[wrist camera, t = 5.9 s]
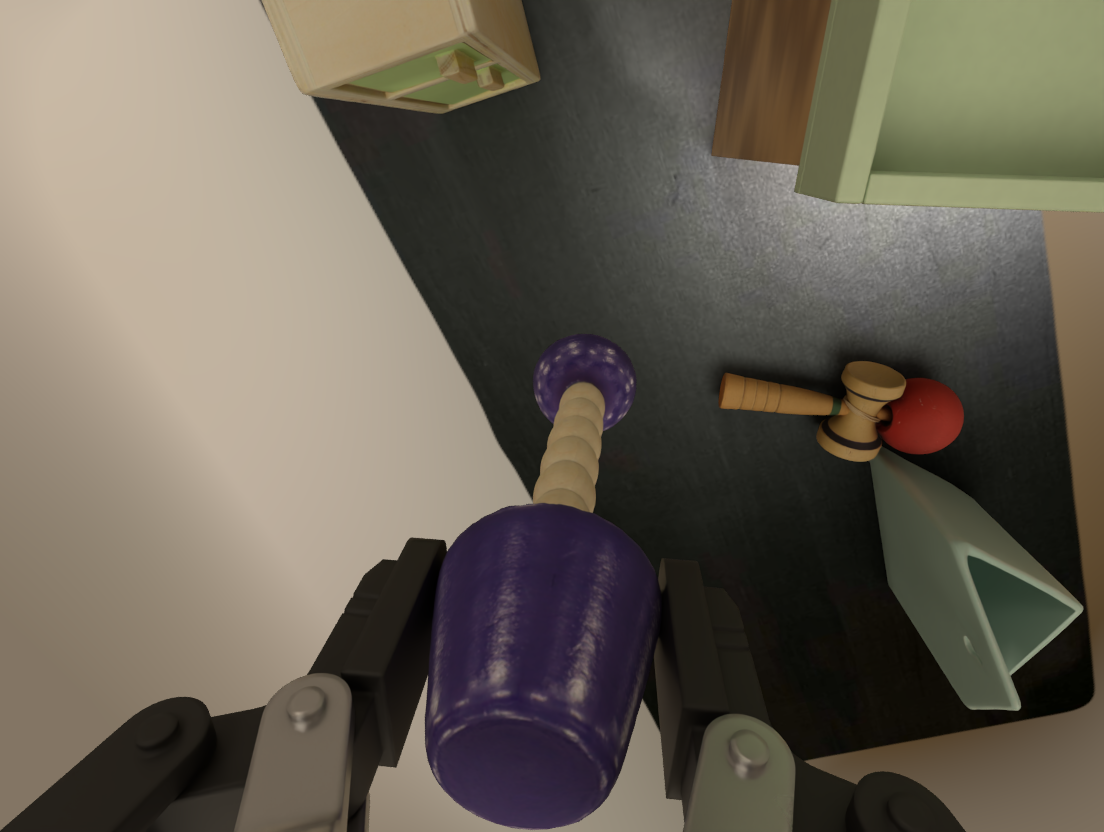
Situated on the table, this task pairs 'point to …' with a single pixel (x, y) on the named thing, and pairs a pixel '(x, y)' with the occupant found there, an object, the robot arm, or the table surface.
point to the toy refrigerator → (405, 50)
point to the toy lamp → (545, 621)
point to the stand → (769, 78)
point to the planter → (964, 582)
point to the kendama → (861, 410)
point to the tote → (959, 105)
